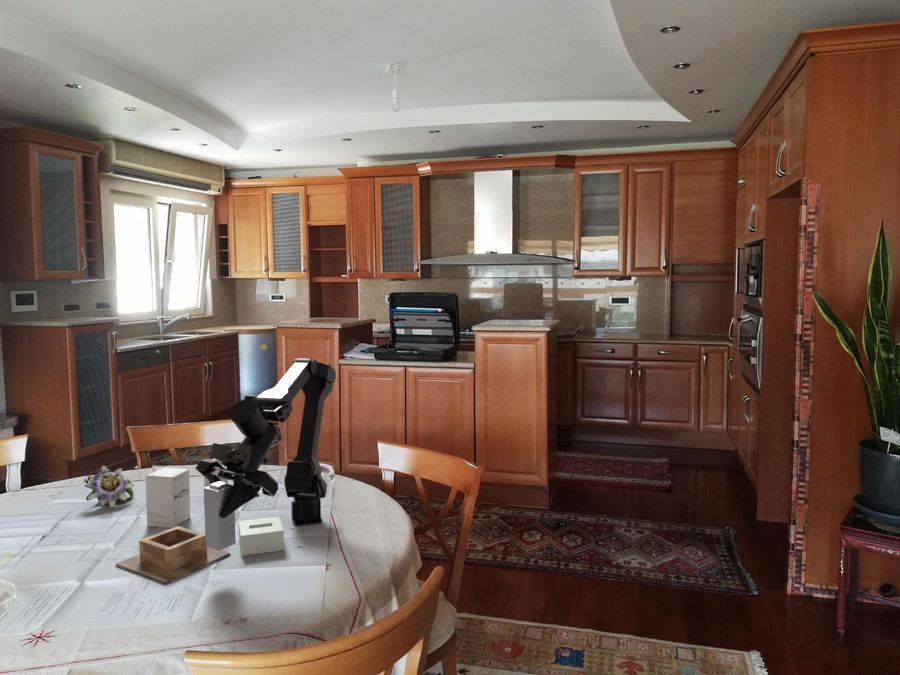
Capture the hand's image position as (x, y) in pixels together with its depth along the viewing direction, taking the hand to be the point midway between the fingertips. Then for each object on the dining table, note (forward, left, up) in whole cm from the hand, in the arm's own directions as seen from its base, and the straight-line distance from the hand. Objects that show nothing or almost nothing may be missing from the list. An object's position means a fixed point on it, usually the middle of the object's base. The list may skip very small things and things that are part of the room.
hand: (214, 515), depth 130 cm
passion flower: (+26, -57, -14) cm, 64 cm away
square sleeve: (+8, -13, -13) cm, 20 cm away
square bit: (-1, -1, -7) cm, 7 cm away
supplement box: (+10, -37, -14) cm, 40 cm away
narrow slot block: (-10, -15, -13) cm, 22 cm away
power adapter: (-1, -56, -14) cm, 57 cm away
